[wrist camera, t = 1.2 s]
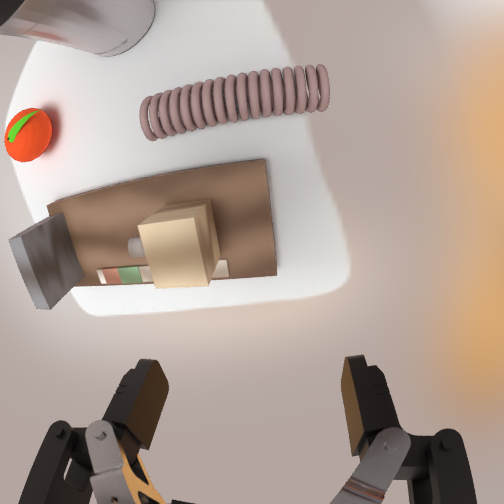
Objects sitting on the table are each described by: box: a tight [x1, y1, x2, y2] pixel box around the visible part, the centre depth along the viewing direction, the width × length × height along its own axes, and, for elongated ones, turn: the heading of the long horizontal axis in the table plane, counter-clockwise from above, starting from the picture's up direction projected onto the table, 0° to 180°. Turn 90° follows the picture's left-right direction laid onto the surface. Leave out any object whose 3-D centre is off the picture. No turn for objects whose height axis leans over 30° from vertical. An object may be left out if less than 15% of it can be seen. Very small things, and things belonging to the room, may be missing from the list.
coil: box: [140, 64, 330, 141], centre depth 22 cm, size 5×5×18 cm
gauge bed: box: [9, 159, 277, 310], centre depth 26 cm, size 12×28×10 cm, turn 97°
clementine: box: [5, 108, 52, 162], centre depth 22 cm, size 8×7×7 cm
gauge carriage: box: [128, 199, 221, 288], centre depth 26 cm, size 8×8×6 cm
